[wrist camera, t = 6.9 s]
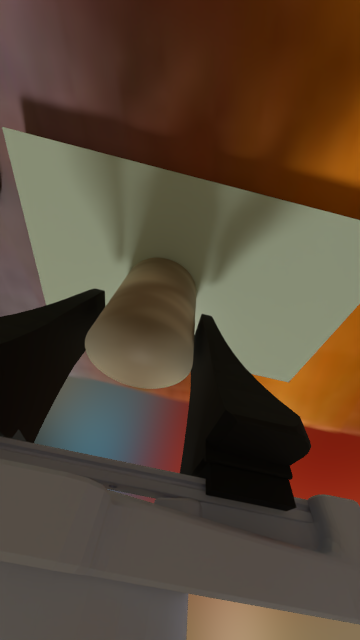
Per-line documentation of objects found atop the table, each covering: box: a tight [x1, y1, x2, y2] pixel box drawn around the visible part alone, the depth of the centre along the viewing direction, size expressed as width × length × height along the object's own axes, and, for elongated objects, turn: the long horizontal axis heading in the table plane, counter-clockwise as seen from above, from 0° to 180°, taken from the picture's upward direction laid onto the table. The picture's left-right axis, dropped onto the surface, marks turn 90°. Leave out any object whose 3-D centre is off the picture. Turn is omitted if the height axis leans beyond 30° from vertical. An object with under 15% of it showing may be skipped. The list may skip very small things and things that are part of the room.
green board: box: [2, 127, 360, 382], centre depth 14 cm, size 22×13×2 cm, turn 78°
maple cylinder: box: [85, 258, 196, 389], centre depth 11 cm, size 5×5×6 cm
